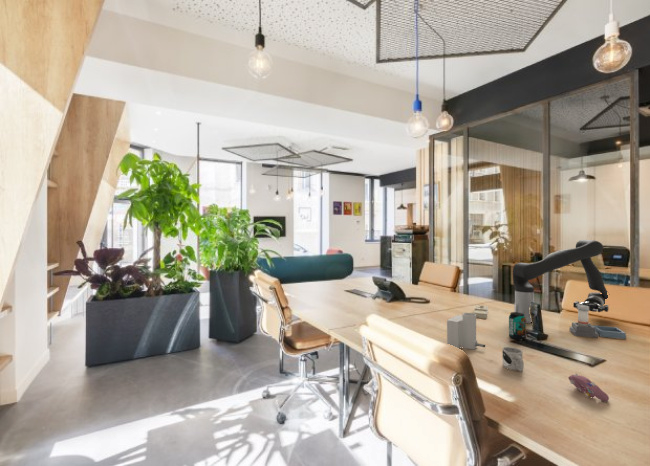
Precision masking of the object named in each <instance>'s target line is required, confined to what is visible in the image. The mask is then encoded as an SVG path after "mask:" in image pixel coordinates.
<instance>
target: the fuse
mask: <svg viewBox="0 0 650 466" xmlns="http://www.w3.org/2000/svg"><path fill="white" fill-rule="evenodd" d="M589 312H590V311H589V306H585V305H578V309H577V323H578V326H585V327H589V326H588V324H590V323H589Z"/></svg>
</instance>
